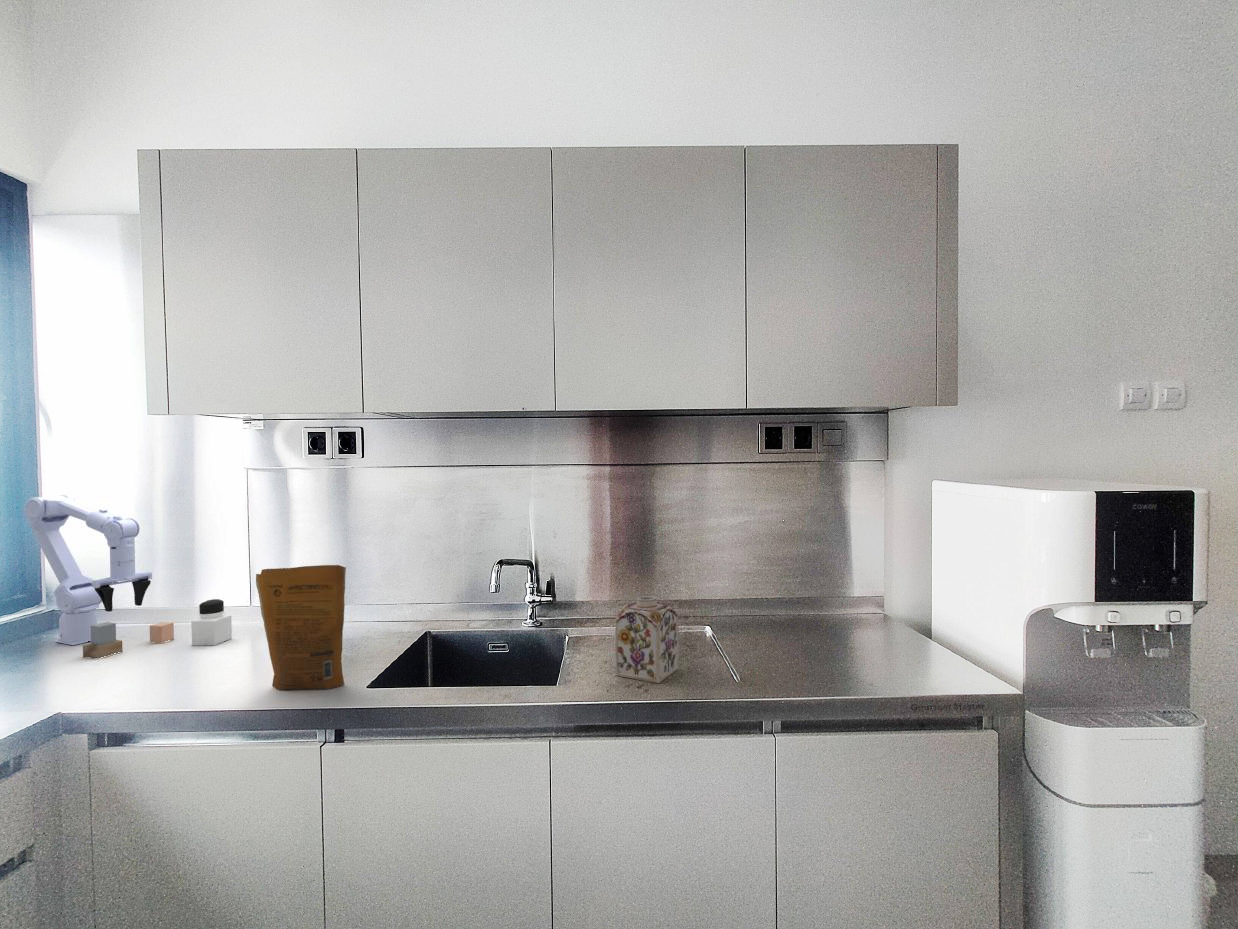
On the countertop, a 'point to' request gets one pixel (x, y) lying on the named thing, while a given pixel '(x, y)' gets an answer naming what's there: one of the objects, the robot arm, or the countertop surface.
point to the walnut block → (102, 649)
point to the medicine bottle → (211, 624)
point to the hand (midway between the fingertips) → (123, 608)
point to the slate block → (103, 633)
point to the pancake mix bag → (304, 624)
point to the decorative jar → (646, 640)
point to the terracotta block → (161, 632)
